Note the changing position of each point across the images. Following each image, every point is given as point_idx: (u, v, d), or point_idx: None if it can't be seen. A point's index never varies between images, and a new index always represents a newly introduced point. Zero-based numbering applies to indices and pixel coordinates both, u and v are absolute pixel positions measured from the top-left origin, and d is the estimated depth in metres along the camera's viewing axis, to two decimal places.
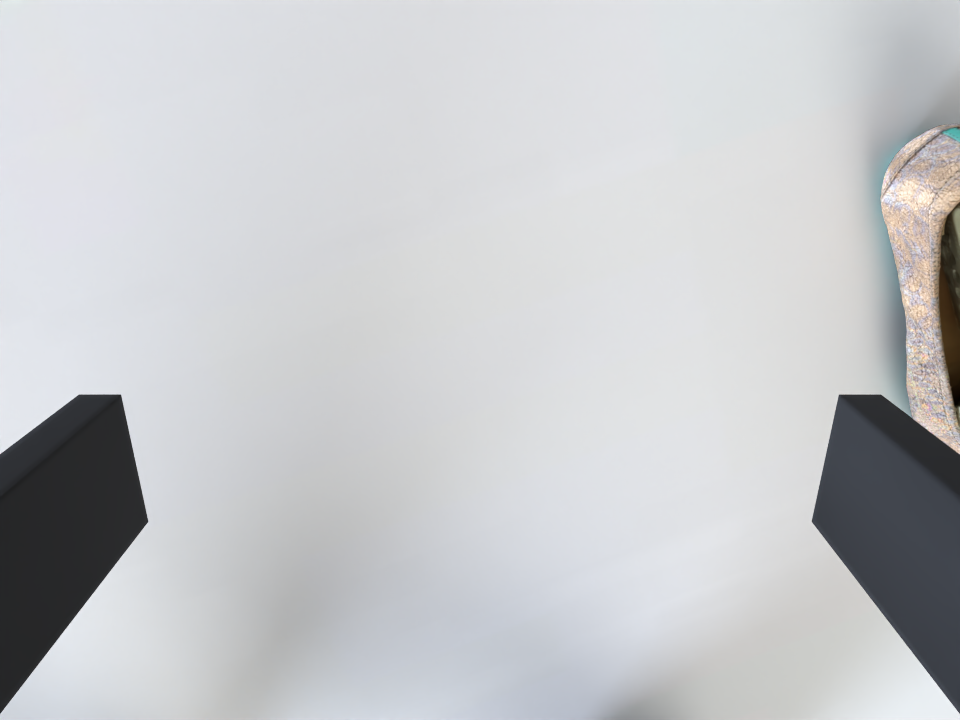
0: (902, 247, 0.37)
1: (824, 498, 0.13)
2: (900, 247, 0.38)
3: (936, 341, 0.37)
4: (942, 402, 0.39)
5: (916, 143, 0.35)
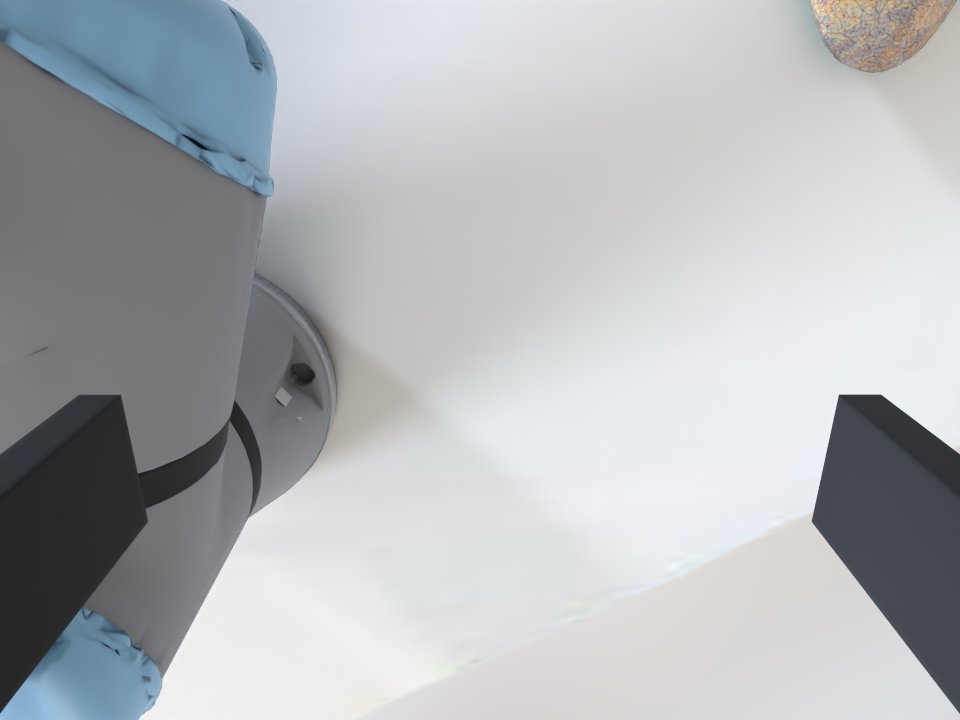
0: None
1: (824, 499, 0.13)
2: None
3: None
4: None
5: None
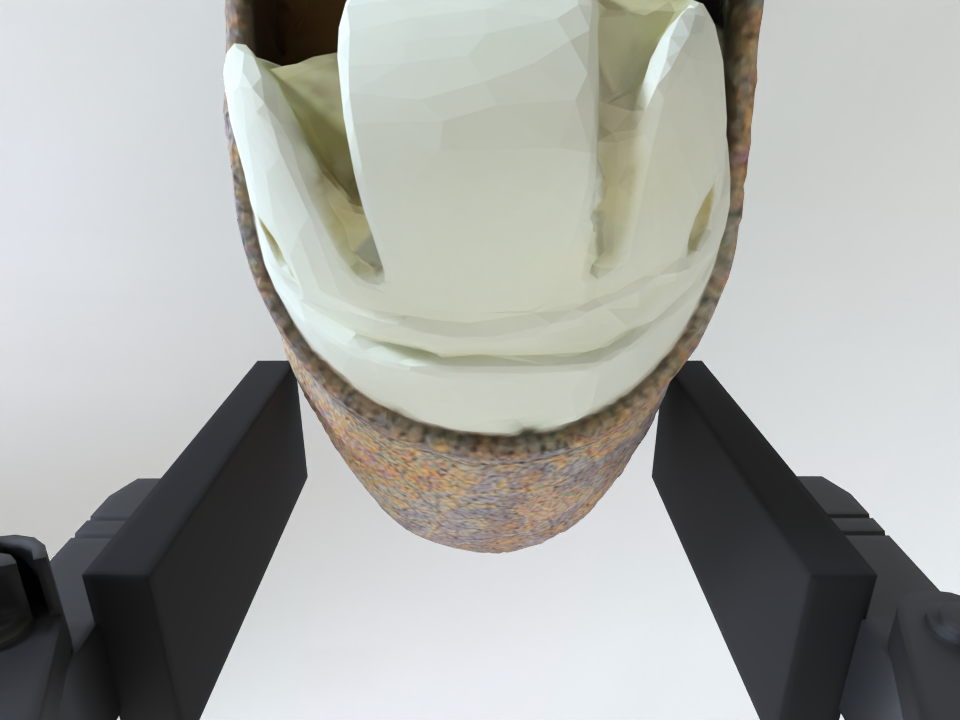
0: None
1: (658, 455, 0.14)
2: None
3: None
4: None
5: None
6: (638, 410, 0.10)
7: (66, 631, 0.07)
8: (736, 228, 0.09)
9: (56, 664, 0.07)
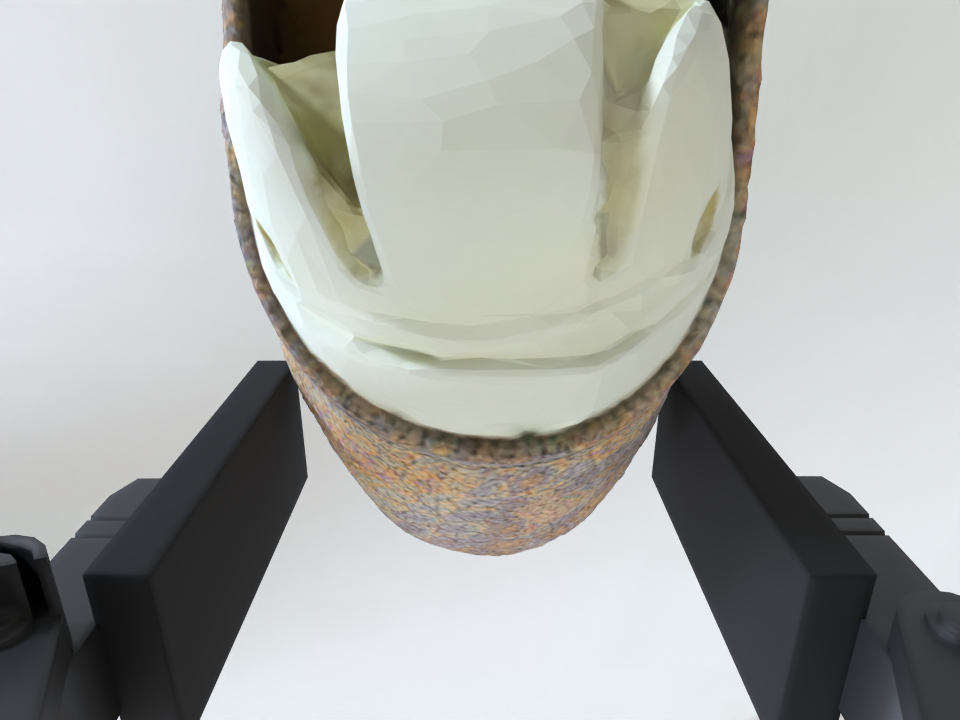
0: None
1: (658, 455, 0.14)
2: None
3: None
4: None
5: None
6: (640, 413, 0.10)
7: (67, 631, 0.07)
8: (740, 229, 0.09)
9: (57, 664, 0.07)
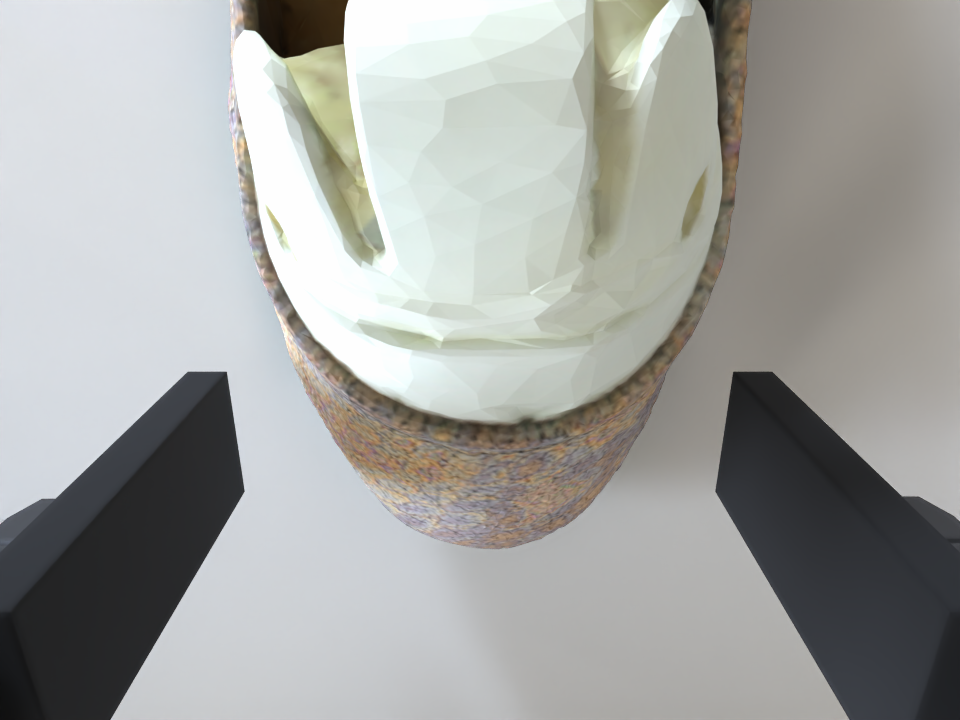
0: None
1: (723, 469, 0.14)
2: None
3: None
4: None
5: None
6: (635, 398, 0.10)
7: None
8: (729, 218, 0.10)
9: None
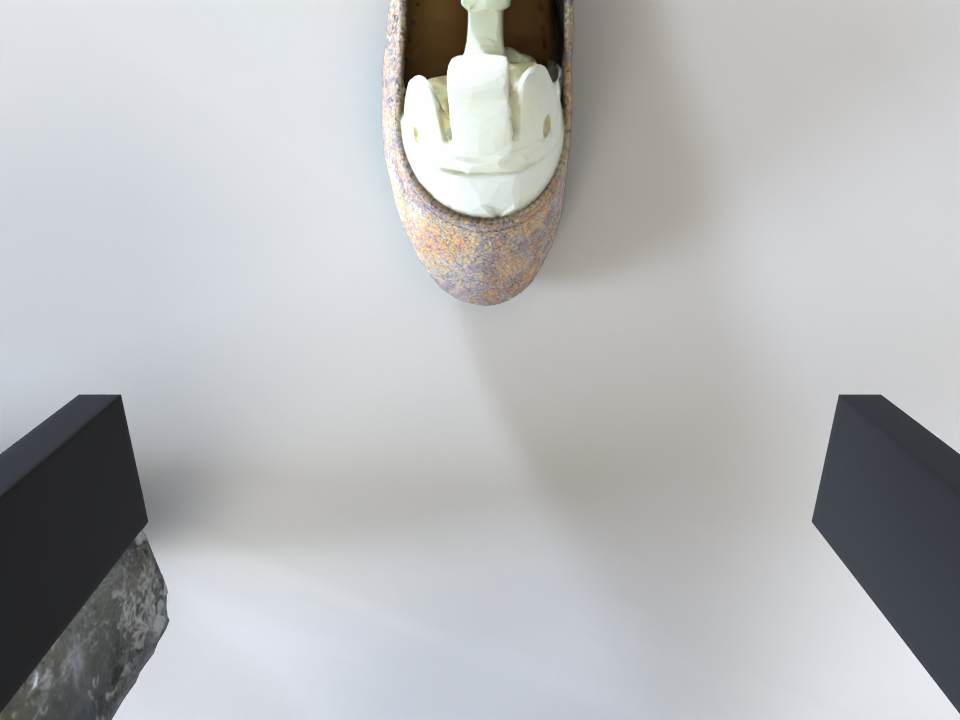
0: None
1: (824, 499, 0.13)
2: None
3: None
4: (394, 76, 0.27)
5: None
6: (538, 206, 0.28)
7: None
8: (569, 136, 0.27)
9: None
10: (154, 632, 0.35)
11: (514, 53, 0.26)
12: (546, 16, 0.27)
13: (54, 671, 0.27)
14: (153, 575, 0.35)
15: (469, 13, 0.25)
